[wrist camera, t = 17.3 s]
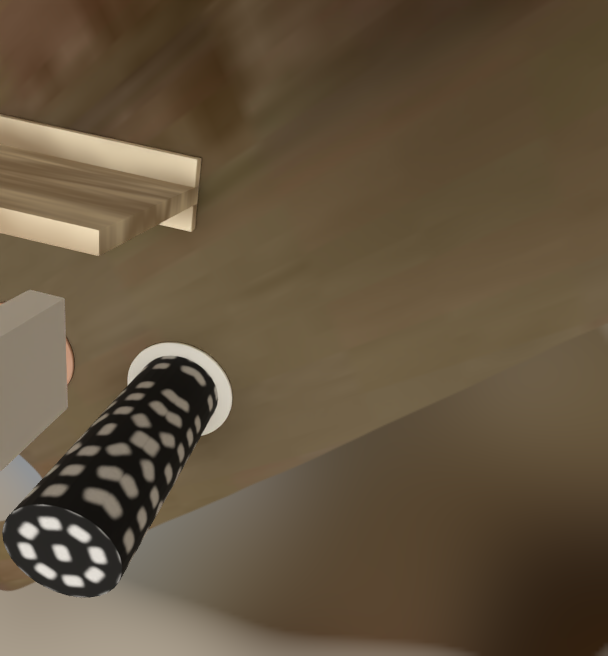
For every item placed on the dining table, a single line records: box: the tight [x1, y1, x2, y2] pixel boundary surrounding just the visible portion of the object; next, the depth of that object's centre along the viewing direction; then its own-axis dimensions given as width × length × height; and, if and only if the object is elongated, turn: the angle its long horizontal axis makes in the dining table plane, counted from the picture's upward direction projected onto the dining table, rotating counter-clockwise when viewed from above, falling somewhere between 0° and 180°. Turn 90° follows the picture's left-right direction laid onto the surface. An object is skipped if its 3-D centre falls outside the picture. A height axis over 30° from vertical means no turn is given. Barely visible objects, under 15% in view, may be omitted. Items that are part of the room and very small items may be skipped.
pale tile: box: [128, 342, 233, 436], centre depth 51 cm, size 11×11×1 cm
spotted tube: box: [2, 356, 218, 597], centre depth 42 cm, size 8×8×20 cm
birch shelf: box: [0, 114, 202, 256], centre depth 36 cm, size 6×18×16 cm, turn 79°
